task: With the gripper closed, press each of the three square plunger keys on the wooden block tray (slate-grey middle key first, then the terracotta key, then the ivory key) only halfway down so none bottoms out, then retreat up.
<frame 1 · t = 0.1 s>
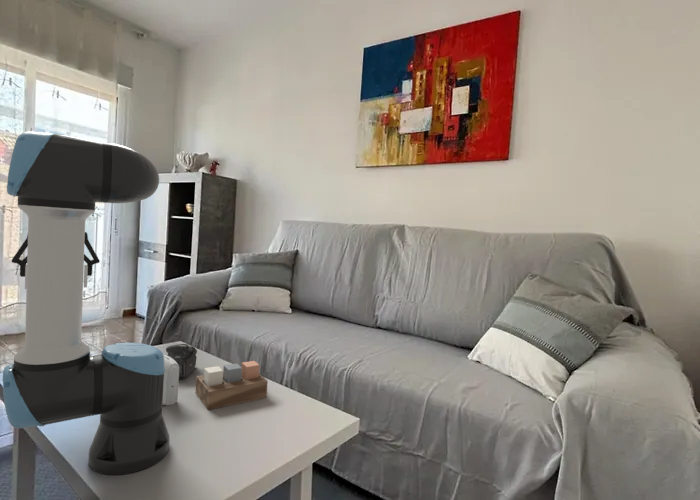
hand: (57, 287, 115), 28 cm above the table, fingers open, 13 cm apart
camera: (180, 373, 130), on the table
slate key: (232, 374, 116), point 6 cm above the table, slide at 0.0 cm
photo printer: (162, 399, 111), on the table
wooden block tray: (231, 395, 117), on the table
ivory key: (213, 378, 113), point 6 cm above the table, slide at 0.0 cm
terracotta key: (250, 371, 120), point 6 cm above the table, slide at 0.0 cm
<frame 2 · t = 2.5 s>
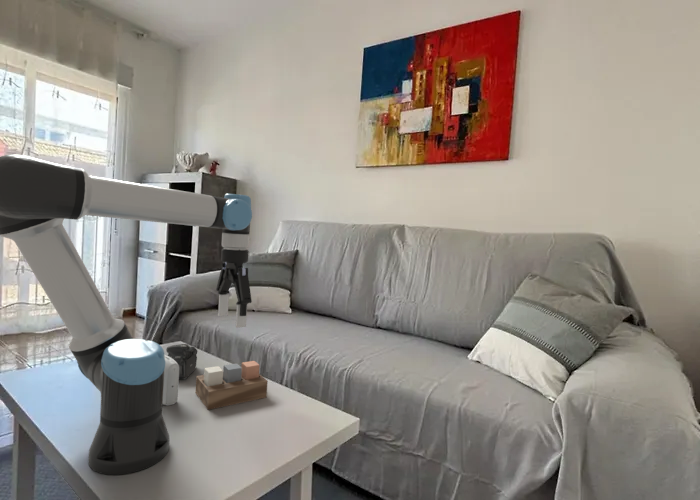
hand: (231, 321, 116), 22 cm above the table, fingers open, 13 cm apart
nothing on the table moved.
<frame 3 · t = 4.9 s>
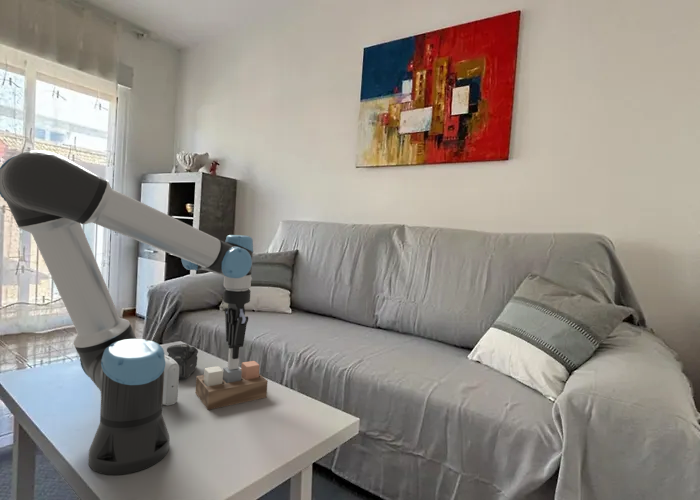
hand: (233, 368, 116), 8 cm above the table, fingers closed
slate key: (232, 377, 116), point 5 cm above the table, slide at 0.8 cm, touching gripper
everything else where it was.
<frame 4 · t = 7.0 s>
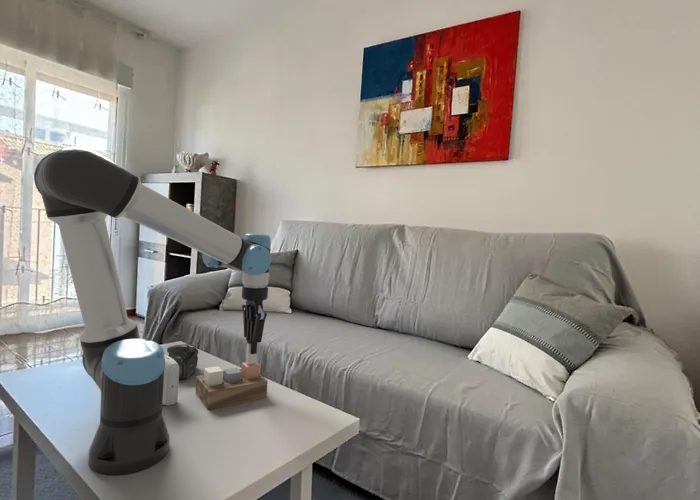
hand: (251, 363, 120), 9 cm above the table, fingers closed
slate key: (231, 379, 116), point 5 cm above the table, slide at 1.3 cm
terracotta key: (250, 372, 120), point 6 cm above the table, slide at 0.1 cm, touching gripper
everything else where it was.
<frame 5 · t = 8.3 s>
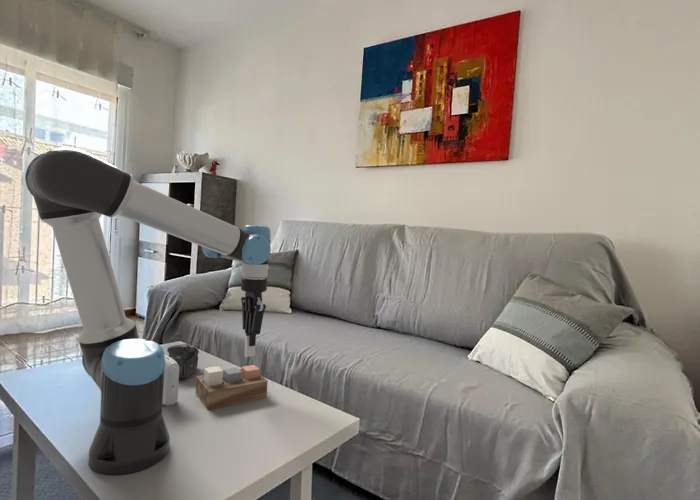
hand: (249, 355, 119), 11 cm above the table, fingers closed
terracotta key: (249, 376, 120), point 5 cm above the table, slide at 1.3 cm
everything else where it was.
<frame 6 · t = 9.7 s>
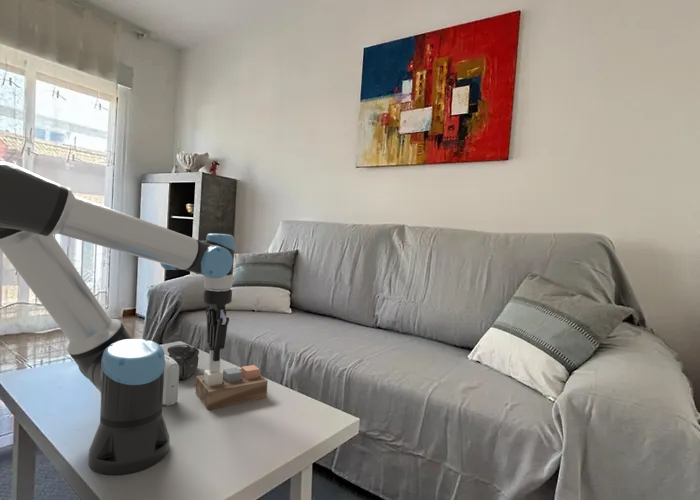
hand: (214, 370, 113), 8 cm above the table, fingers closed
ivory key: (213, 380, 113), point 5 cm above the table, slide at 0.6 cm, touching gripper
everything else where it was.
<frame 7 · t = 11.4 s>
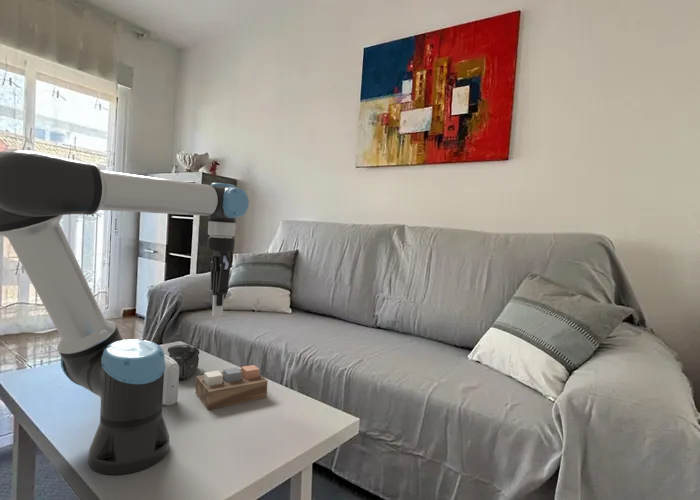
hand: (217, 315, 118), 23 cm above the table, fingers closed
ivory key: (213, 382, 113), point 5 cm above the table, slide at 1.3 cm
everything else where it was.
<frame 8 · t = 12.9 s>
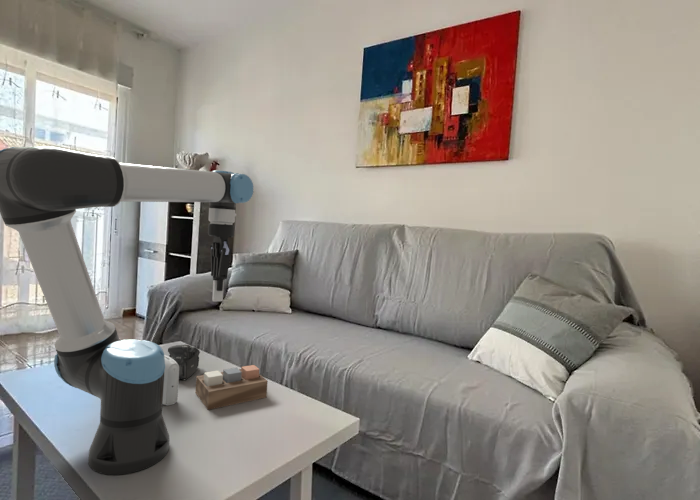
hand: (217, 300, 121), 26 cm above the table, fingers closed
nothing on the table moved.
at the end: slate key slide at 1.3 cm; terracotta key slide at 1.3 cm; ivory key slide at 1.3 cm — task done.
